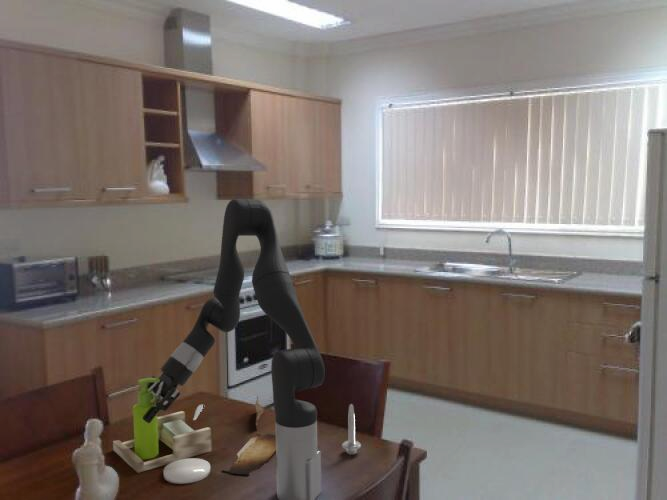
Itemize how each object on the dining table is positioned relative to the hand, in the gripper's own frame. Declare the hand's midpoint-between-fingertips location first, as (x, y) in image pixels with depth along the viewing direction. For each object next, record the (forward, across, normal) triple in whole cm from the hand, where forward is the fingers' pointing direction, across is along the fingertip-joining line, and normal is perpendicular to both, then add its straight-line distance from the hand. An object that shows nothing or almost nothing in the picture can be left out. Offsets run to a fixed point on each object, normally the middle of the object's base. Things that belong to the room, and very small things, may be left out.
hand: (140, 417), depth 157 cm
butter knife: (-8, -14, +23) cm, 28 cm away
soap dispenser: (+6, 0, +9) cm, 11 cm away
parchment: (-9, +18, +24) cm, 31 cm away
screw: (-23, +33, +38) cm, 55 cm away
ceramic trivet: (+4, +16, +11) cm, 20 cm away
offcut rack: (+4, 0, +11) cm, 11 cm away
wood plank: (-18, -2, +33) cm, 38 cm away
